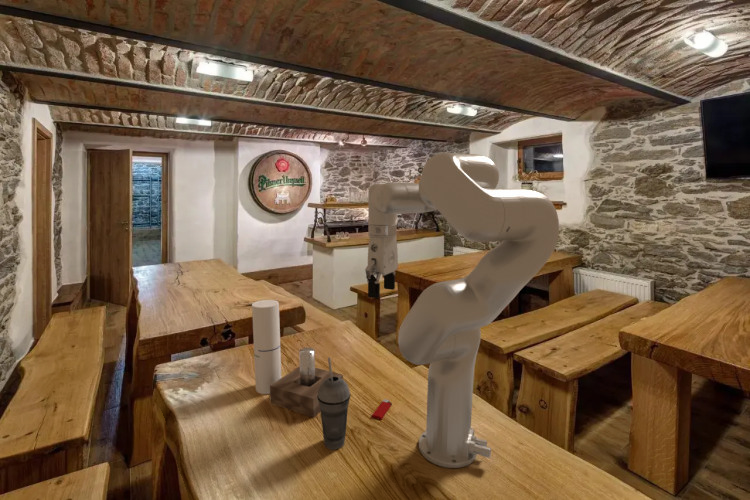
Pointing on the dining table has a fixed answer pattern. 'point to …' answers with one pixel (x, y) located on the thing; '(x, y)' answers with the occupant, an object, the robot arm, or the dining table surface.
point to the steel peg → (307, 366)
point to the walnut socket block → (299, 392)
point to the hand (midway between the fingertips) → (381, 293)
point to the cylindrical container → (266, 344)
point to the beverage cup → (333, 409)
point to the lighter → (382, 409)
